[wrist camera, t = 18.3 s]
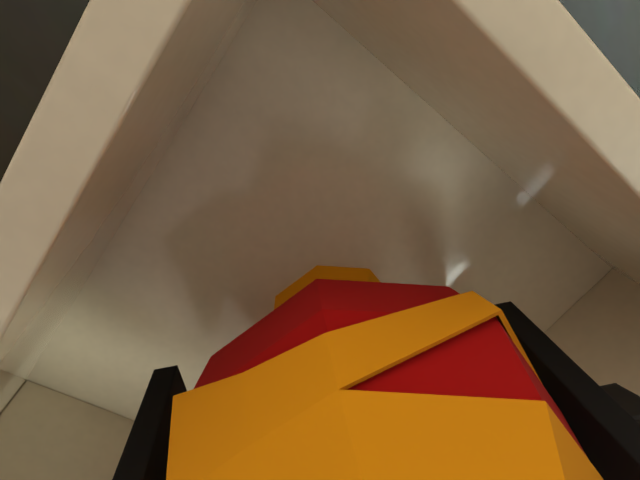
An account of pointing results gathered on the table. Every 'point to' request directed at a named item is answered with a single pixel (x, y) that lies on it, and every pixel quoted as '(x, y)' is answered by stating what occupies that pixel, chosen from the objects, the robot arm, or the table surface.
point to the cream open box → (301, 192)
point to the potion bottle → (372, 392)
